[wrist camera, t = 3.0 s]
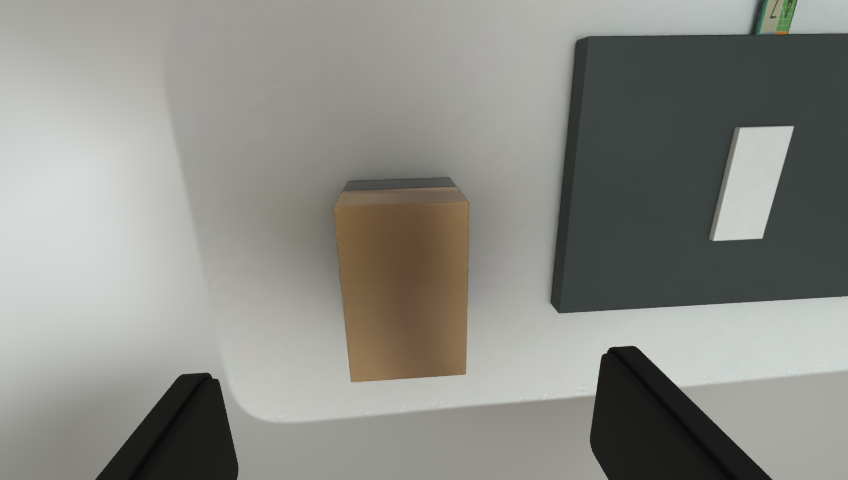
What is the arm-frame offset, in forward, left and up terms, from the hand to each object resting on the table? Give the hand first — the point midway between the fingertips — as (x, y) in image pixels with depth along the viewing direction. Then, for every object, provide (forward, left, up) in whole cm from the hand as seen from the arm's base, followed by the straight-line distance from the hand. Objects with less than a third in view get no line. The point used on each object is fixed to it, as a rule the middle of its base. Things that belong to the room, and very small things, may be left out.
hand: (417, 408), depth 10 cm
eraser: (0, 0, -9) cm, 9 cm away
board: (+10, +15, -9) cm, 20 cm away
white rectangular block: (+8, +13, -8) cm, 18 cm away
